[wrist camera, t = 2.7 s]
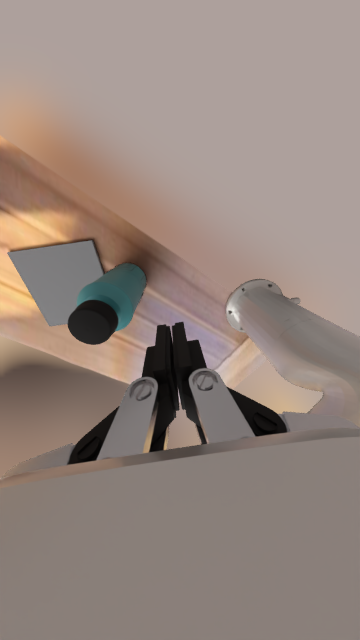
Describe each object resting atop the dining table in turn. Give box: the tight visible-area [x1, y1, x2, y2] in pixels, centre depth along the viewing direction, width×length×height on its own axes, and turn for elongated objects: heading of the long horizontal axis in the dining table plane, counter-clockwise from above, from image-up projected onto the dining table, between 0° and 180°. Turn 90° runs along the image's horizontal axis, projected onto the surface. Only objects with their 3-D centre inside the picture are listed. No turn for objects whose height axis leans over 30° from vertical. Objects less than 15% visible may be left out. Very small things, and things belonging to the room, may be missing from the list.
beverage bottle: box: [68, 262, 146, 345], centre depth 24 cm, size 6×7×20 cm
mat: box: [8, 240, 104, 326], centre depth 32 cm, size 15×15×1 cm
